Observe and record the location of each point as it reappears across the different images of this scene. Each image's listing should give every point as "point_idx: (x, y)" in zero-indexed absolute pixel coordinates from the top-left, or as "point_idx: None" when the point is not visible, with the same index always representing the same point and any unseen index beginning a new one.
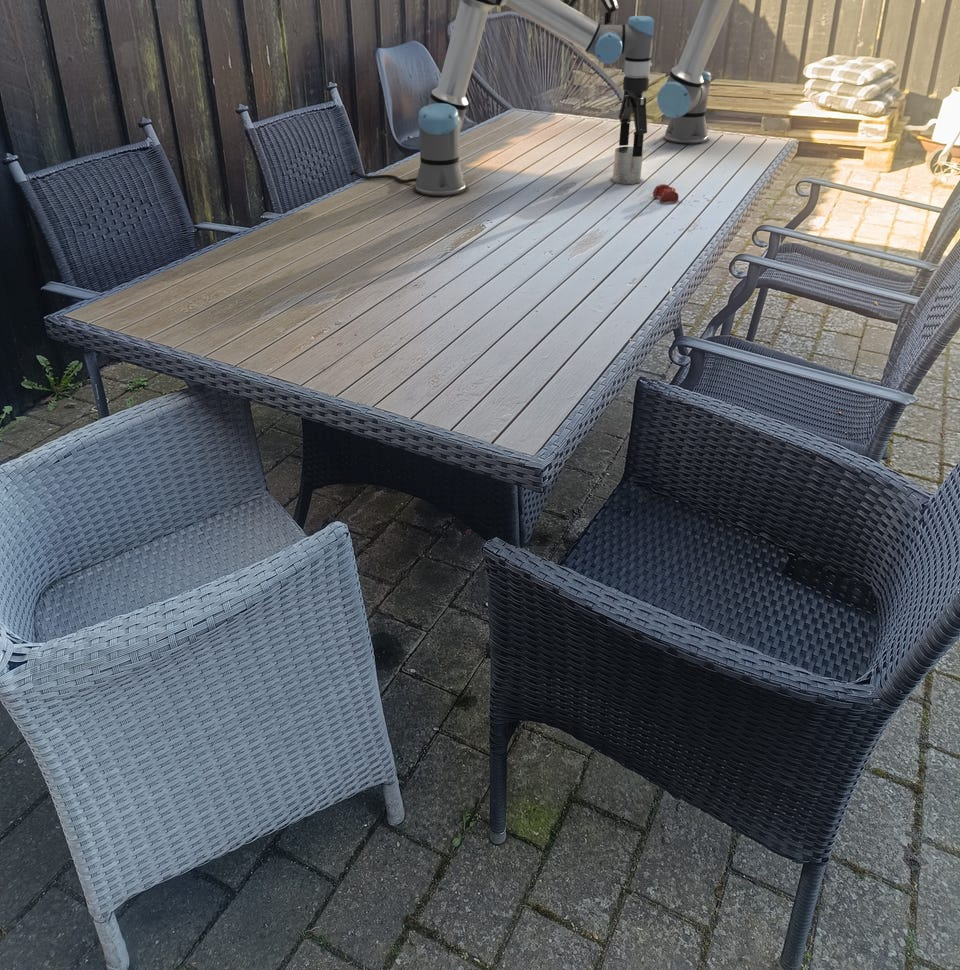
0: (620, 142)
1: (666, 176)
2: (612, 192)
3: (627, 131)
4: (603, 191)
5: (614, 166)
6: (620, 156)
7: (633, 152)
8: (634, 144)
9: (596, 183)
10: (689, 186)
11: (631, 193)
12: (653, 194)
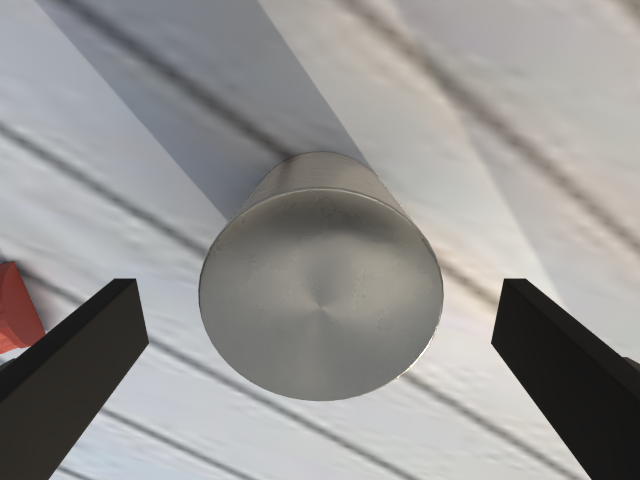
0: (518, 296)
1: (347, 404)
2: (97, 78)
3: (569, 425)
4: (115, 24)
5: (320, 164)
6: (248, 203)
7: (92, 296)
8: (34, 344)
9: (287, 29)
10: (197, 436)
11: (85, 181)
12: (3, 267)
